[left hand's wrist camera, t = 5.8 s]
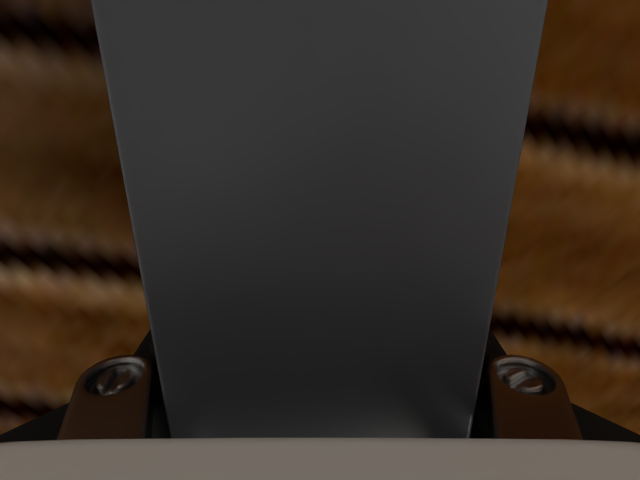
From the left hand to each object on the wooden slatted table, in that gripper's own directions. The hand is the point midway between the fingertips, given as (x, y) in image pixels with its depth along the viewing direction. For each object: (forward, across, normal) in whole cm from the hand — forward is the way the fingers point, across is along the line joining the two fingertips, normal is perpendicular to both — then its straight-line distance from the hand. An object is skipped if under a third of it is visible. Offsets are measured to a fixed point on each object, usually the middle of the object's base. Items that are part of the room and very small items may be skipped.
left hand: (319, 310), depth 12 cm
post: (+3, 0, -26) cm, 26 cm away
